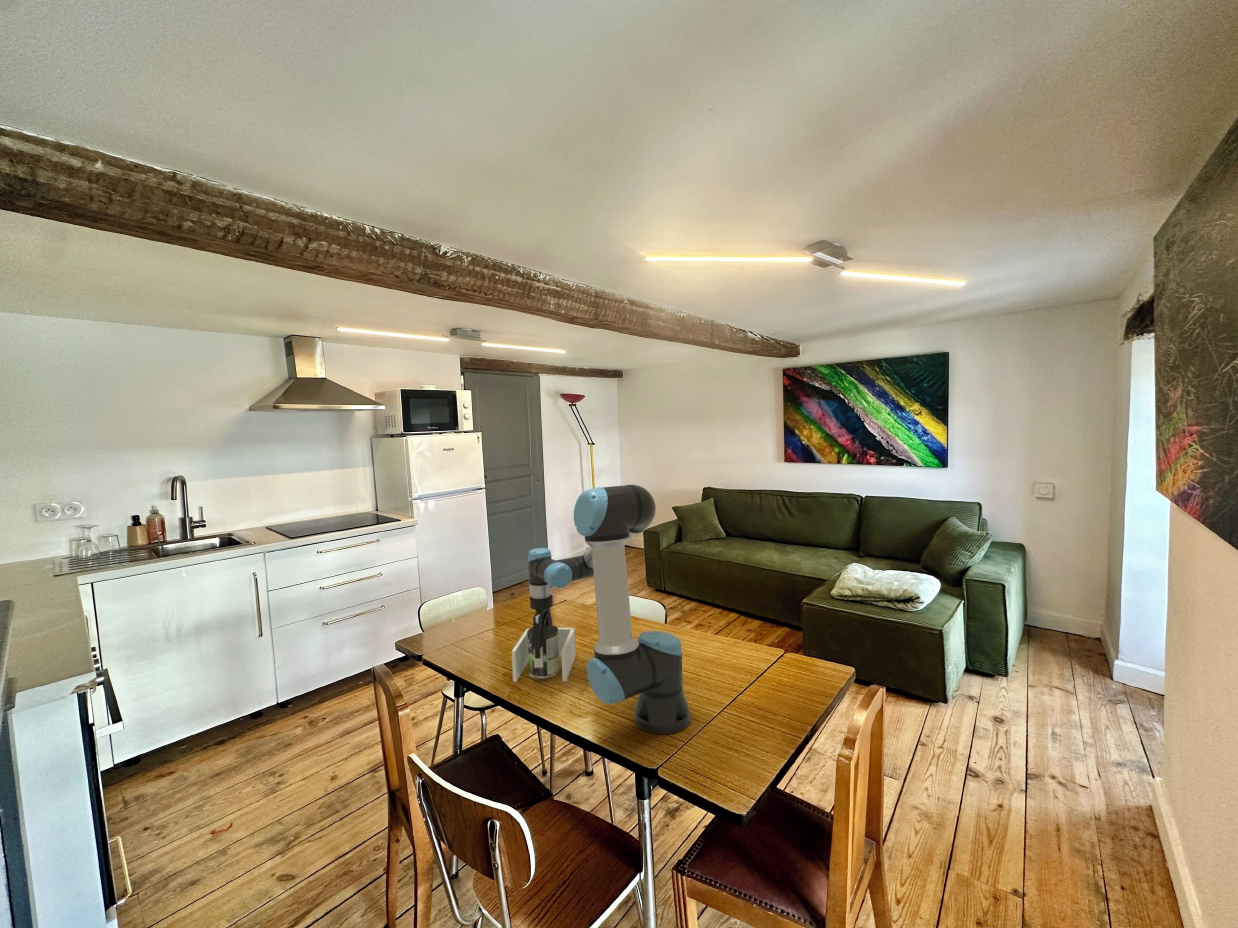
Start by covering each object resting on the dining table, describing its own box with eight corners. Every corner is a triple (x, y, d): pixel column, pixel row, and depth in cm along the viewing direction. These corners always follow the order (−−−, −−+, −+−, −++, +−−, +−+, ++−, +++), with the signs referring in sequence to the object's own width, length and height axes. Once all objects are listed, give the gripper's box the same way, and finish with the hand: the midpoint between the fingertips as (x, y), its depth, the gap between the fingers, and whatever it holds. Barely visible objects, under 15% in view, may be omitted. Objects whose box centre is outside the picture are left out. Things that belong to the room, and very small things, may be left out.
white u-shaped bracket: (566, 681, 156) (565, 651, 155) (513, 681, 157) (511, 651, 157) (575, 655, 175) (574, 627, 174) (528, 655, 176) (527, 628, 176)
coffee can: (532, 681, 157) (530, 638, 156) (526, 667, 166) (524, 627, 166) (563, 674, 160) (561, 633, 160) (555, 661, 170) (554, 622, 169)
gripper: (543, 608, 149) (546, 675, 151) (559, 583, 174) (561, 641, 175) (519, 608, 150) (522, 675, 151) (538, 583, 175) (541, 641, 176)
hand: (543, 657), depth 163 cm, fingers open, 13 cm apart
